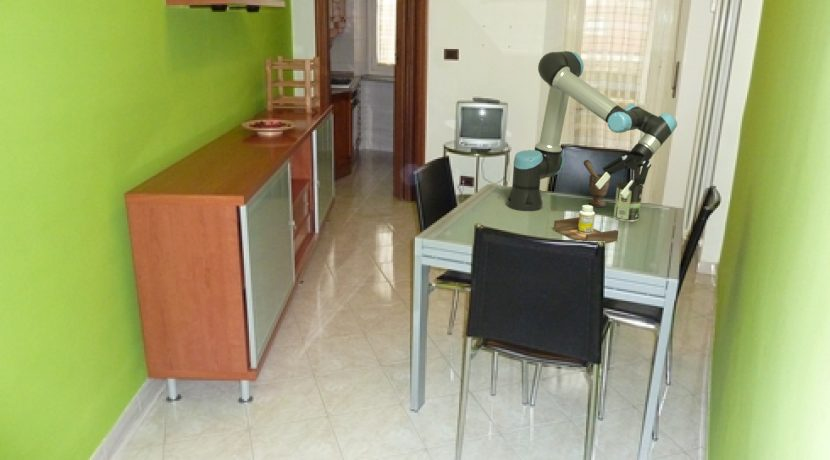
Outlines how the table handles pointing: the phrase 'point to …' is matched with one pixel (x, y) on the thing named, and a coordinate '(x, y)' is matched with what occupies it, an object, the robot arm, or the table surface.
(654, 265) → the table surface
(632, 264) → the table surface
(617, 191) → the coffee can
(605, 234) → the wooden tray with rails
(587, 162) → the mortar and pestle
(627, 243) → the table surface
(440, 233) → the table surface
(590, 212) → the supplement bottle
